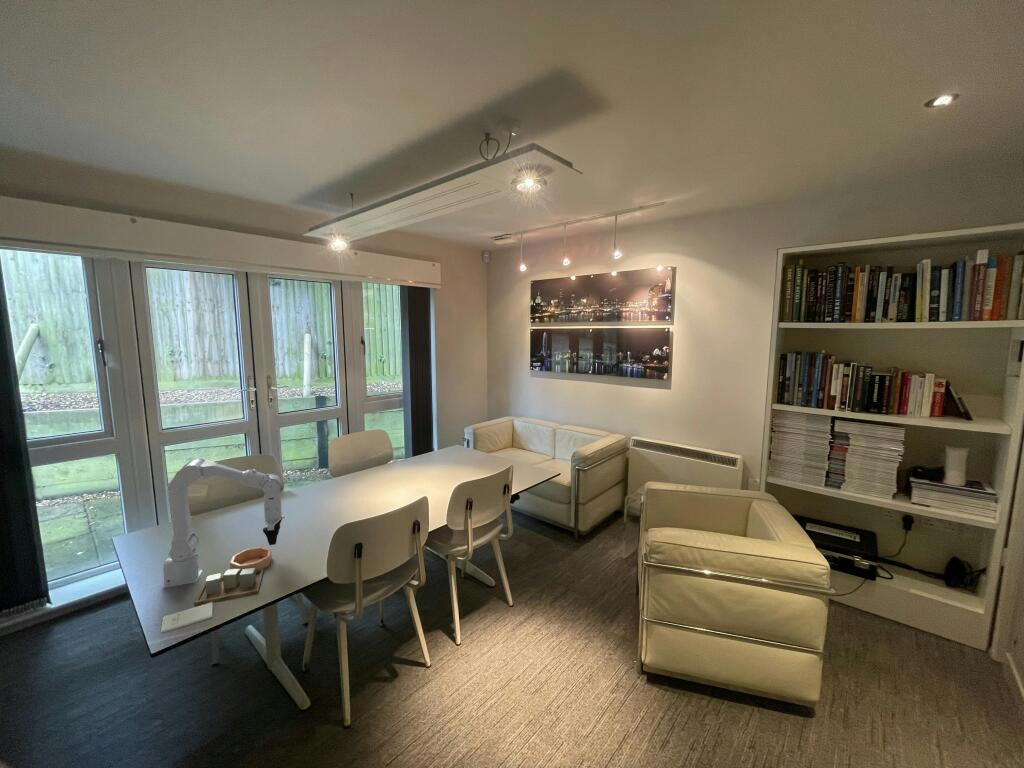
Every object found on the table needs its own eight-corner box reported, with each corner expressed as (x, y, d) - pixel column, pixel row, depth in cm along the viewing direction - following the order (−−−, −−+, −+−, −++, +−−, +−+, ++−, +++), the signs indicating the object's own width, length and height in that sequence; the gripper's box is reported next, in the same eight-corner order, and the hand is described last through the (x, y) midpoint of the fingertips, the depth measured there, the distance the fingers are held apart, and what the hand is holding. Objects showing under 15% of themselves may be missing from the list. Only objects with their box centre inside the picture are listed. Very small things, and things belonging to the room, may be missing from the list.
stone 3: (240, 588, 142) (239, 574, 142) (243, 582, 145) (242, 569, 145) (253, 586, 143) (252, 573, 143) (255, 580, 147) (255, 567, 146)
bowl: (228, 578, 148) (227, 568, 148) (235, 560, 160) (235, 550, 159) (268, 571, 153) (268, 561, 153) (272, 554, 165) (272, 545, 165)
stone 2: (223, 588, 142) (222, 575, 141) (228, 582, 145) (227, 569, 144) (236, 587, 142) (235, 574, 142) (240, 581, 146) (240, 568, 145)
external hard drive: (212, 620, 127) (160, 636, 120) (212, 606, 134) (163, 620, 127) (212, 615, 127) (160, 631, 120) (212, 601, 134) (163, 615, 126)
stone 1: (206, 595, 138) (205, 581, 137) (207, 589, 141) (207, 576, 140) (220, 591, 140) (219, 578, 139) (221, 586, 143) (221, 573, 142)
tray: (194, 606, 133) (193, 602, 132) (205, 583, 145) (205, 579, 145) (257, 594, 140) (257, 590, 140) (263, 572, 152) (263, 569, 152)
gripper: (282, 512, 151) (283, 546, 152) (286, 498, 164) (287, 529, 165) (260, 515, 148) (261, 550, 149) (266, 500, 161) (267, 532, 162)
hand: (273, 539), depth 157 cm, fingers open, 7 cm apart
